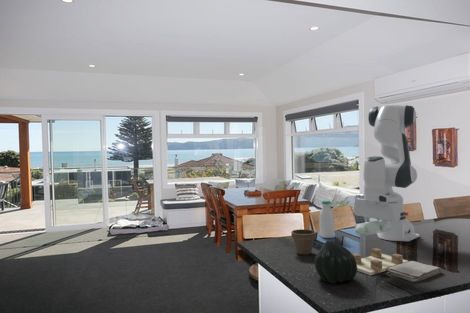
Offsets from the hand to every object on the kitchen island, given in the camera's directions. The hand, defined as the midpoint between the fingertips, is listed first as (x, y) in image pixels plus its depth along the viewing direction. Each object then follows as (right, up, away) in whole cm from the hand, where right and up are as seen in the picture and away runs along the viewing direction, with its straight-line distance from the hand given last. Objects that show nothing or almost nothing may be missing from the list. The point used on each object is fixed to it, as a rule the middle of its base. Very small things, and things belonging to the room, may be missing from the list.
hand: (376, 229), depth 143 cm
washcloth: (+11, -16, -10) cm, 21 cm away
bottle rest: (0, -15, 0) cm, 15 cm away
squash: (-21, -16, -14) cm, 30 cm away
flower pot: (-26, -16, +20) cm, 36 cm away
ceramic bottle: (-2, -2, -1) cm, 3 cm away
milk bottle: (-8, -15, +48) cm, 51 cm away
